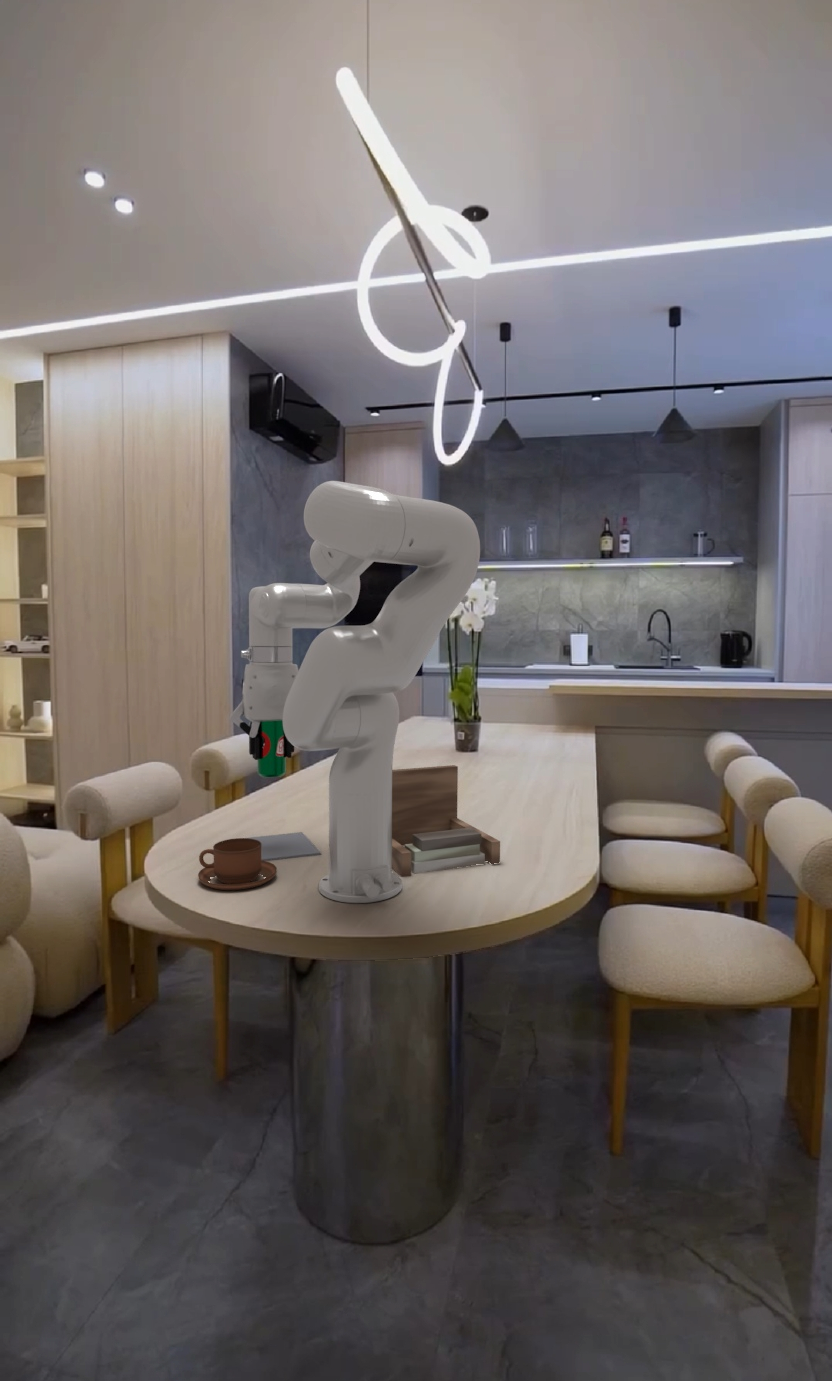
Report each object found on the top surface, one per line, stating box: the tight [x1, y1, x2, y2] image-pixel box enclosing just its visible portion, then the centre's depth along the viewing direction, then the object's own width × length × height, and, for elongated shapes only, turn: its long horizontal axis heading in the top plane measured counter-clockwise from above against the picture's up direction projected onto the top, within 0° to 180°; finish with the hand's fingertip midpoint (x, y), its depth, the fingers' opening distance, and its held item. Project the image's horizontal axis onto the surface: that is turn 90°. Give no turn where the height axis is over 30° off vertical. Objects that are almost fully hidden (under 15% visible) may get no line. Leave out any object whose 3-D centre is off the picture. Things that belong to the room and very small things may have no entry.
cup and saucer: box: [197, 837, 278, 891], centre depth 111 cm, size 12×12×6 cm
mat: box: [248, 831, 322, 862], centre depth 129 cm, size 14×14×1 cm
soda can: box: [256, 721, 287, 778], centre depth 127 cm, size 5×5×12 cm
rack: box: [392, 764, 501, 878], centre depth 125 cm, size 18×18×14 cm
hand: (271, 756), depth 127 cm, fingers closed on soda can, 5 cm apart
